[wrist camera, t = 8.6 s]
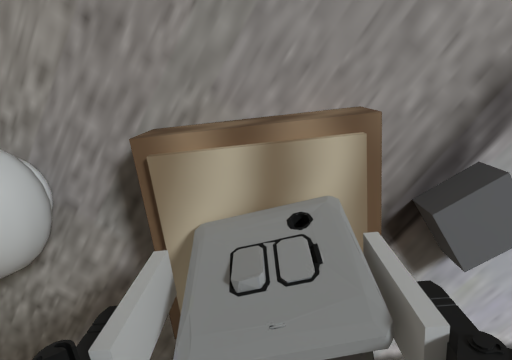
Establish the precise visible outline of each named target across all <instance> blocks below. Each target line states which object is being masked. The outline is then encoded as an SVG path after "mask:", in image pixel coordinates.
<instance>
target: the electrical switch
mask: <svg viewBox="0 0 512 360" xmlns="http://www.w3.org/2000/svg"><path fill="white" fill-rule="evenodd" d="M394 334H395V332H394V326H393V320H392V317H391V315H390V313H389V311H388V308H387V306H386V304H385V302H384V299H383V297H382V295H381V293H380V290H379V288H378V286H377V284H376V281H375V279H374V277H373V275H372V272H371V270H370V268H369V266H368V263H367V261H366V259H365V257H364V254H363V252H362V250H361V248H360V246H359V243H358V241H357V239H356V237H355V234H354V232H353V230H352V228H351V225H350V223H349V221H348V219H347V216H346V214H345V212H344V210H343V207H342V205H341V203H340V201H339V199H338V198H335V197H333V196H323V197H318V198H314V199H309V200H305V201H301V202H296V203H292V204H287V205H283V206H278V207H274V208H269V209H265V210H261V211H256V212H252V213H247V214H243V215H238V216H234V217H229V218H225V219H220V220H216V221H212V222H207V223H204V224H201V225H200V226H199V227H198V228H197V229H196V230H195V233H194V239H193V246H192V252H191V258H190V263H189V269H188V275H187V281H186V287H185V293H184V299H183V305H182V311H181V316H180V322H179V328H178V334H177V340H176V346H175V352H174V358H173V360H374V356H373V351H376V350H382V349H388V348H389V346H390V344H391V343H392V341H393V338H394Z"/></svg>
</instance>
